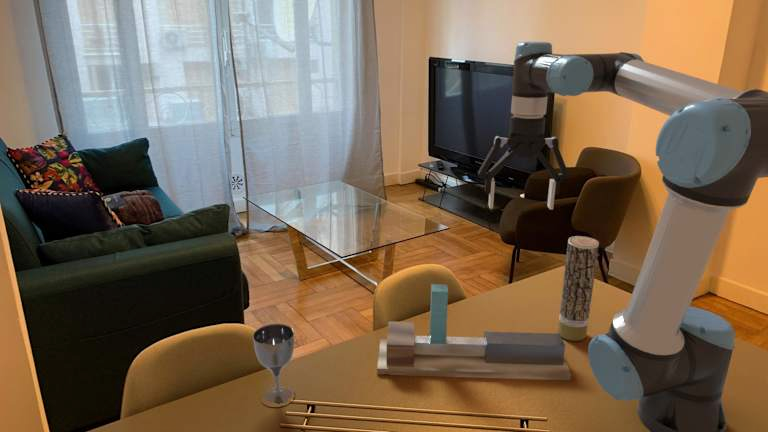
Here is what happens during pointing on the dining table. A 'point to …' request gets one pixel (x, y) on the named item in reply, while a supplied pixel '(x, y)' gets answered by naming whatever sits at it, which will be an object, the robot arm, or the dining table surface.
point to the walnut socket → (400, 344)
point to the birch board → (470, 367)
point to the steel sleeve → (524, 348)
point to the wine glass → (275, 355)
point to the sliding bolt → (438, 326)
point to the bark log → (577, 287)
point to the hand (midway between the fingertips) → (520, 207)
